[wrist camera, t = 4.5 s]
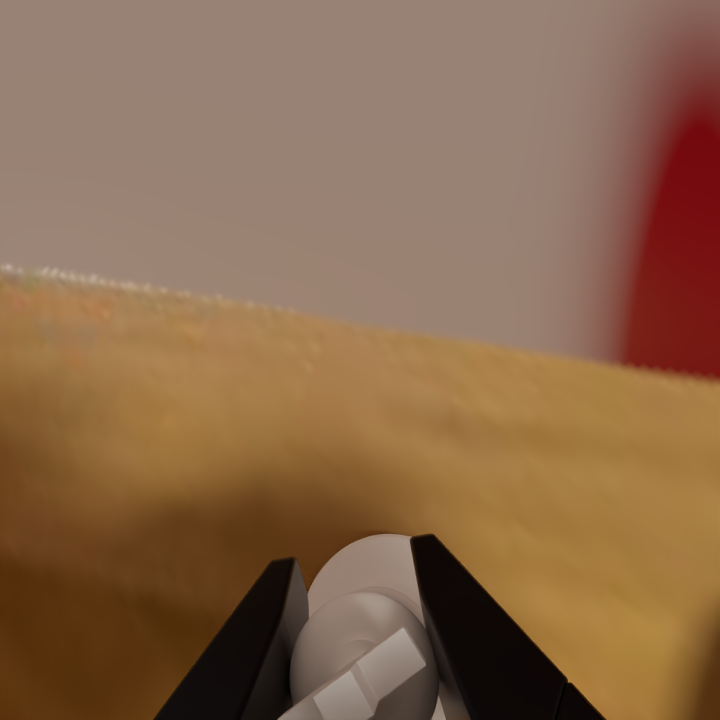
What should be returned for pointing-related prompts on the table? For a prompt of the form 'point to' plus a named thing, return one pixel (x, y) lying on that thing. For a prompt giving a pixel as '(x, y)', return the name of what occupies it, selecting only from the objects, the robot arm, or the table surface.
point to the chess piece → (365, 640)
